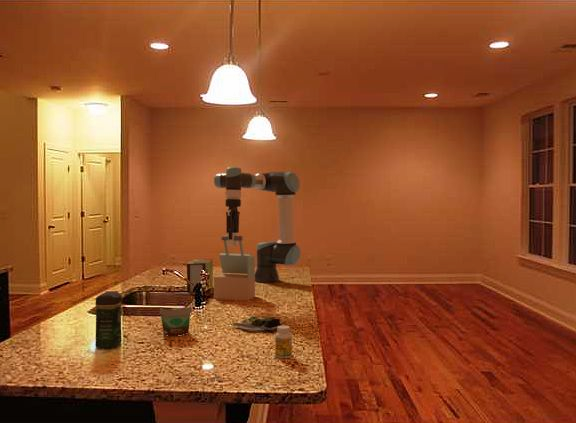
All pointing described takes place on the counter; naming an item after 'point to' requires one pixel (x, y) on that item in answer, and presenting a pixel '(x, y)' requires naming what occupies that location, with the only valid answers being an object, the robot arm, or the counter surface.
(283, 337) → the supplement bottle
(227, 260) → the flap
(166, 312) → the food container
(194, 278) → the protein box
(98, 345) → the coffee jar
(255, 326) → the salad plate
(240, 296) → the carton
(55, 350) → the counter surface
